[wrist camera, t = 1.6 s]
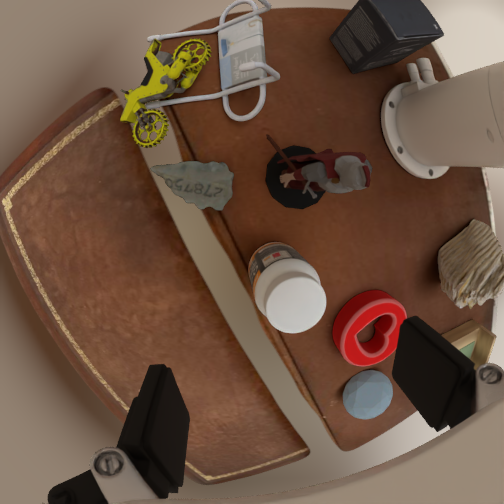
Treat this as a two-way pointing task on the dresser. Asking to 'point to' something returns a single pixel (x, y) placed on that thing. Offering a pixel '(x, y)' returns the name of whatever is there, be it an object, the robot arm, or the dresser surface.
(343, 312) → the decorative ornament
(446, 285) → the fossil tooth
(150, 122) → the toy motorcycle
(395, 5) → the box
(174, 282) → the dresser surface
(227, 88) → the wall mount rack
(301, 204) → the figurine
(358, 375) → the gemstone
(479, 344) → the shelf
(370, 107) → the dresser surface
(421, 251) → the dresser surface
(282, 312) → the pill bottle
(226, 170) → the stone tool
